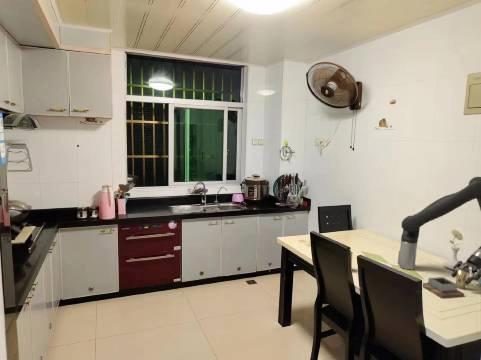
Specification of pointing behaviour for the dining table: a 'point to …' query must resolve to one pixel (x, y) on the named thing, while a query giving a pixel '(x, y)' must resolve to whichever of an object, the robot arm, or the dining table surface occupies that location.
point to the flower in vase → (453, 260)
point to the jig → (442, 287)
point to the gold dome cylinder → (461, 278)
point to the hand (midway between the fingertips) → (459, 279)
